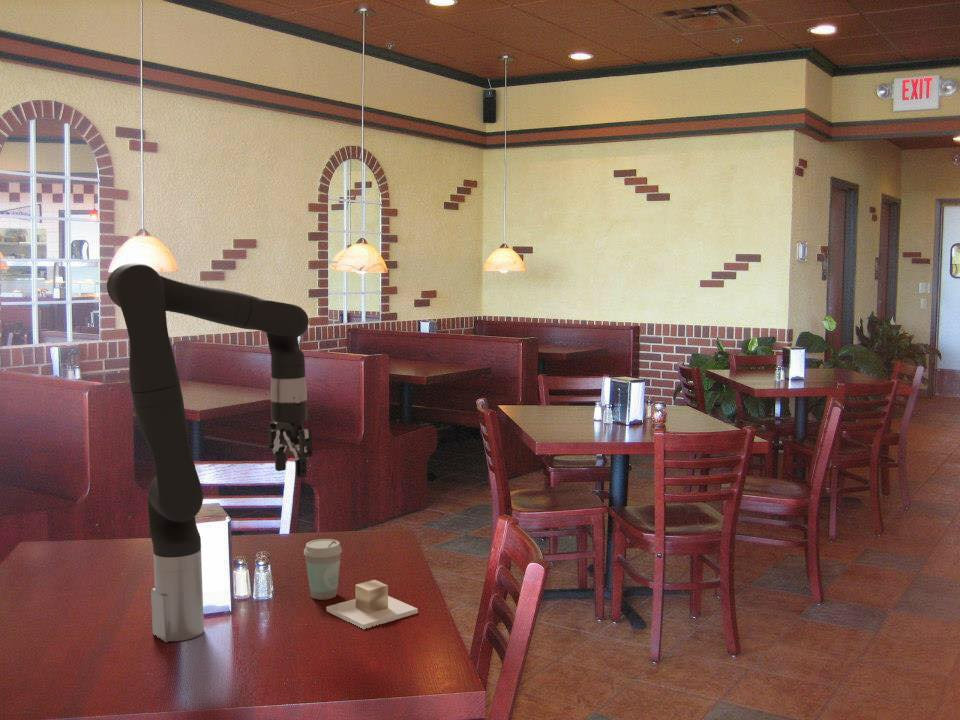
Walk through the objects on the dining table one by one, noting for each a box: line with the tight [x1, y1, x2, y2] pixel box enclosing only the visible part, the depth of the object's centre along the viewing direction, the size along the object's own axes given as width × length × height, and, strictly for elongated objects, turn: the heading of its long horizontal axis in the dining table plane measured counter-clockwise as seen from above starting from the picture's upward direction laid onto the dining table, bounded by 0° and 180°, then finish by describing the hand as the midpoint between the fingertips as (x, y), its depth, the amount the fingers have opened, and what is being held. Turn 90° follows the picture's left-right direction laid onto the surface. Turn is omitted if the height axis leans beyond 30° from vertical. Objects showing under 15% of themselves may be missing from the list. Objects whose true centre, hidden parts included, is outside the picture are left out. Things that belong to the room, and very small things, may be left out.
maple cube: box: [354, 579, 389, 613], centre depth 211 cm, size 5×5×5 cm
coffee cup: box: [303, 538, 343, 601], centre depth 222 cm, size 9×9×12 cm
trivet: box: [325, 595, 418, 630], centre depth 212 cm, size 14×14×1 cm
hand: (290, 473), depth 210 cm, fingers open, 8 cm apart
